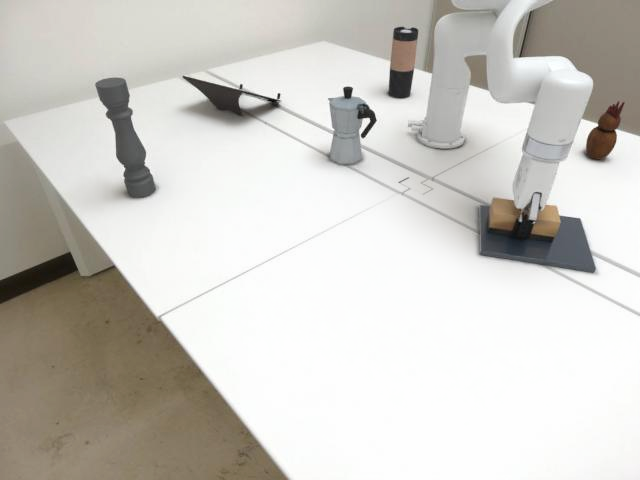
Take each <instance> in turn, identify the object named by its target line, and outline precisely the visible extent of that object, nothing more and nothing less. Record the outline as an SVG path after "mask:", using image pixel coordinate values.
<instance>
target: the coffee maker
mask: <svg viewBox="0 0 640 480" xmlns="http://www.w3.org/2000/svg"><path fill="white" fill-rule="evenodd" d="M353 90H354V88H353V87H352V86H348V85H347V86H343V88H342V92H343V95H341V96H337V97H336V96H335V97H328V98H327V100H328V101H329V102H328V105H329V112H330V120H331V128H332V129H333V134H332V139H331V145H330V151H329V159H330V161H331V162H333V163H336V164H338V165H340V166H344V165H347V166H348V165H355V164H357V163H359V162H361V161H362V160H363V155H362V154H363V153H362V145H361V138H362V139H365V138H366V137H367V135H368V134H369V133H370V131H371V130H372V128H373V127H374V126H375V124H376V123H377V121H378V120H377V116H376V113H375V111H374V110H373V109H371V107H370V106H369V104H367V101H365V100H363V99H362V98H361V97H359V96H353V92H354V91H353ZM364 119H369V122H368V124H367V125H366V127H365V128H364V129H363V131H362V132H361V133H360V129H361V128H362V125H363V120H364Z"/></svg>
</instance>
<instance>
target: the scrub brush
mask: <svg viewBox="0 0 640 480" xmlns="http://www.w3.org/2000/svg"><path fill="white" fill-rule="evenodd" d="M489 206H490V210H489V214H488V217H487V223H488V233H492V234H499V235H506V236H512V235H511V234H512V231H513V228H514V225H515V222H516V219H518V218H519V214H520V210H521V208H519V209H517V208H516V207H515V204H514V199H508V198H500V197H492V200H491V203H490V205H489ZM526 206H530V204H527V205H526ZM528 213H529V210H525V212H524V215H525V214H526V215H528ZM559 215H560V213H559V208H558V206H557V205H551V204H546V205H545V207H544V209H543V210H542V211H540V212H539V210H538V214H537V219H536V221H535V223H534V226H533V229H532V231H531V234H530V237H529V239H532V240H539V241H545V242H553V240H554V237H555V236H556V233H557V231H558V228H559V226H560V223H561V221H560V217H559Z"/></svg>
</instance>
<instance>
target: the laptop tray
mask: <svg viewBox="0 0 640 480" xmlns="http://www.w3.org/2000/svg"><path fill="white" fill-rule="evenodd" d="M181 77H182V79H183V80H185V81H186V82H188V83H189V84H191V85H192V86H193V87H194V88H195V89H197V90H198V91H199V92H200V93H201V94H203V96H205V97H206V99H208V100H209V101H210V103H211V104H212V105H213V106H214V107H215V108H216V109H217V110H220V111H226V112H230V113H232V114H235V115H237V116H241V117H242V116H243V112H242V109H241V106H240V97H241V95H243V96H246V97H251V98H255V99H258V100H263V101H265V102H269V103H271V104H275V105H279V102H282V100H281V95H282V93H280V92H278V93H277V96H276V98H273V97H269V96H265V95H261V94H258V93H254V92H251V91H246V90H243V85H244V84H242V83H240V84H239V89H238V88H234V87H230V86H226V85H221V84H218V83H214V82H210V81H207V80H201V79H198V78H195V77H190V76H186V75H182V76H181Z"/></svg>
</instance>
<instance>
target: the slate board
mask: <svg viewBox="0 0 640 480" xmlns="http://www.w3.org/2000/svg"><path fill="white" fill-rule="evenodd" d="M490 206H491V205H485V204H480V205H479V208H478V212H479V213H478V214H479V217H478V220H479V225H478V226H479V255H480V256H485V257H486V256H487V257H493V258H499V259H500V258H501V259H506V260H512V261H519V262H525V263H532V264H537V265H544V266H549V267H550V266H551V267H557V268H563V269H568V270H569V269H570V270H574V271H575V270H577V271H581V272H582V271H584V272H587V273H595V271H596V269H597V267H596V264H595V261H594V257H593V255H592V251H591V248H590V245H589V242H588V238H587V235H586V232H585V228H584V225H583V222H582V218H580V217H573V216H566V215H560V214H559V217H560V221H561V223H560V226H559V228H558V231H557V233H556V236H555V237H554V240H553V242H545V241H539V240H532V239H522V238H515V237H512V236H506V235H499V234H492V233H488V223H487V217H488V214H489V210H490Z"/></svg>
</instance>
